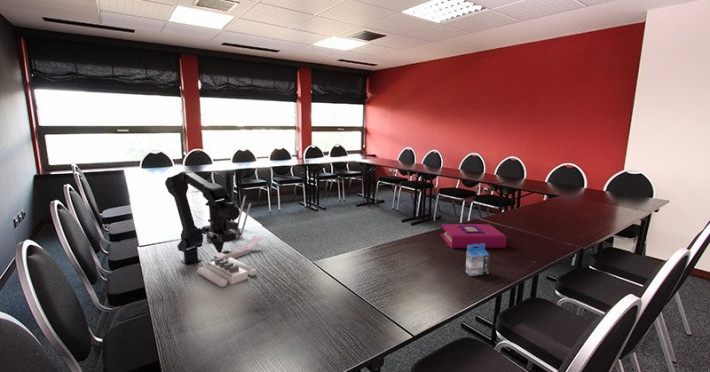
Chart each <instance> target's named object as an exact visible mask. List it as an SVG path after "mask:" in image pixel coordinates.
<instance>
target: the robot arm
mask: <svg viewBox="0 0 710 372" xmlns="http://www.w3.org/2000/svg"><path fill="white" fill-rule="evenodd" d="M189 185H190V186H192V188H195V190H198V191H199V192H201V193H202V196H203V198H204V199H205V200H206V201H207V202H206V203H205V206H207V207H208V211H209V212H208V213H209V218H208V219H207V222H208V223H209V225H204V226H202V228H200V227H199V228H198V227H197V226H196V224H195V221H194V217H193V214H192V210H191V206H190V203H189V202H190V201H189V200H188V199H189V198H188V191H189ZM164 186H165V187H166V189H167V191H168V193H169V194H170V195H171V196H172V197H173V198H174V201H175V205H176V209H177V212H178V216H179V220H180V223H181V227H182V230H181V233H180V241H179V243H178V244H177V250H178V251H179V252H183V259H181V261H180V262H182V263H183V264H185V266H186V265H187V266H189V265H192V264H196V263H200V262H202V259H201V258H199V251H198V248H201V247H203V241H204V235H207V232H209V233H210V236H208V238H209V239H210V240H211V241H210V242H211V243H212V245H213V246H214V248H215V250H216V251H217V254H218V253H221V252H223V248H224V244H225V243H227V242H231V241H235V240H237V239H238V238H237V237H236V234H235V233H234V232H231V231H229V229H232V230H236V231H237V229H238V228H239V226H240V222H239V223H238V222H236V220H238V219H239V214H240V210H241V209H240V208H239V207H238V206H236V202H232V200H231V197H230V196H228V195H229V193H228V192H227V190H226V189H225V187H224V186H223V185H220V184H216V183H211V182H209V181H208V180H206V179H204V178H203V177H201V176H199V175H198V174H196V173H195V172H194V171H193V170H184V171H181V172H179V173H177V174H175V175H172V176H168V177H167V178H166V179H165V181H164ZM232 220H235V222H233V221H232ZM238 225H239V226H238ZM225 231H228V232H225Z"/></svg>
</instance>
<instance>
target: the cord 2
mask: <svg viewBox="0 0 710 372" xmlns="http://www.w3.org/2000/svg"><path fill="white" fill-rule="evenodd" d="M228 261H229V262H232V263H234V265H238V266H239V267H240V268H242V269H244V270H246V271H247V273H248V276H251V277H254V276H256V275H257V269H255V268H253V267H252V266H249V265H248V264H246V263H244V262H242V261H239V260H237V258H231V257H230V258H228Z"/></svg>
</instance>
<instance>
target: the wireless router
mask: <svg viewBox="0 0 710 372" xmlns="http://www.w3.org/2000/svg"><path fill="white" fill-rule="evenodd" d="M228 196H229V194H228ZM246 196H247V195H244V197H243V199H242V202H241V207H240V209H239V210H240V214H239V217H238V218H237V223H239V225H238V229H237V231H236V230H232V229H229V231H231V232H234V233H235V234H236V237H237V239H238V238H239V236H240V237H242V236H243V234H244V230H245V226H246V222H247V220H248V215H249V213H250V209H251V206H252V202H250V203H249V204H248V207H247V209H246V211H245V212H246V213H245V217H244V220H243V224H242V228H241V230H240V228H239V226H240V222H241V219H242V218H241V217H242V212H243V209H244V205H245V202H246V201H245V200H246ZM229 197H230V196H229ZM231 221H233V222H236V220H231ZM225 232H228V231H225ZM208 236H210V233H209V232H206V240H207V241H209V242H211V240H210V239H209V238H208Z"/></svg>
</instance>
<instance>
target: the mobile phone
mask: <svg viewBox="0 0 710 372" xmlns="http://www.w3.org/2000/svg"><path fill="white" fill-rule="evenodd" d="M262 239H263V238H262V237H260V236H256V235H255V236H253V237H252V238H251V239H250V240H249V241H248V242H247V243H246V244H245V245H244V246H239V247H236V248H232V249H229V250H228V249H227V250H222V252H221V253H218V252H217V253H216V254H214V258H212V259H210V260H209V262H213V261H214V259H217V258H221V257H222V258H224V260H228V258H230V257H231V258H234V259H237V258H239V257H242V256H245V255H248V254H250V252H251V250H252V248H254V247H255V246H256V245H257V244H258V243H259V242H260V241H262Z"/></svg>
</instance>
